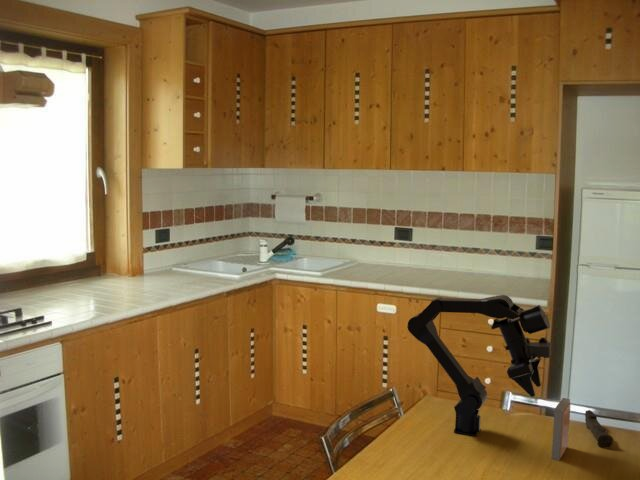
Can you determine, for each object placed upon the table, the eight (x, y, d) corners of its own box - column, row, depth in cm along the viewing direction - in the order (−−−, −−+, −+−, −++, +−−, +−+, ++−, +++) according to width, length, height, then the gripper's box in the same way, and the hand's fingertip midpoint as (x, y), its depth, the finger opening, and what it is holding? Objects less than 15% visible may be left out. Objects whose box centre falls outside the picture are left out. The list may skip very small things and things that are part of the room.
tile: (551, 458, 181) (554, 408, 179) (559, 445, 189) (562, 397, 187) (560, 460, 179) (563, 410, 178) (568, 447, 188) (571, 399, 186)
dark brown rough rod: (612, 449, 188) (613, 433, 187) (597, 448, 188) (598, 432, 188) (595, 423, 206) (596, 408, 206) (582, 422, 207) (583, 407, 206)
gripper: (536, 338, 177) (559, 394, 175) (547, 323, 193) (569, 374, 192) (497, 350, 182) (519, 404, 181) (511, 334, 198) (531, 384, 197)
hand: (536, 391), depth 187 cm, fingers open, 9 cm apart
